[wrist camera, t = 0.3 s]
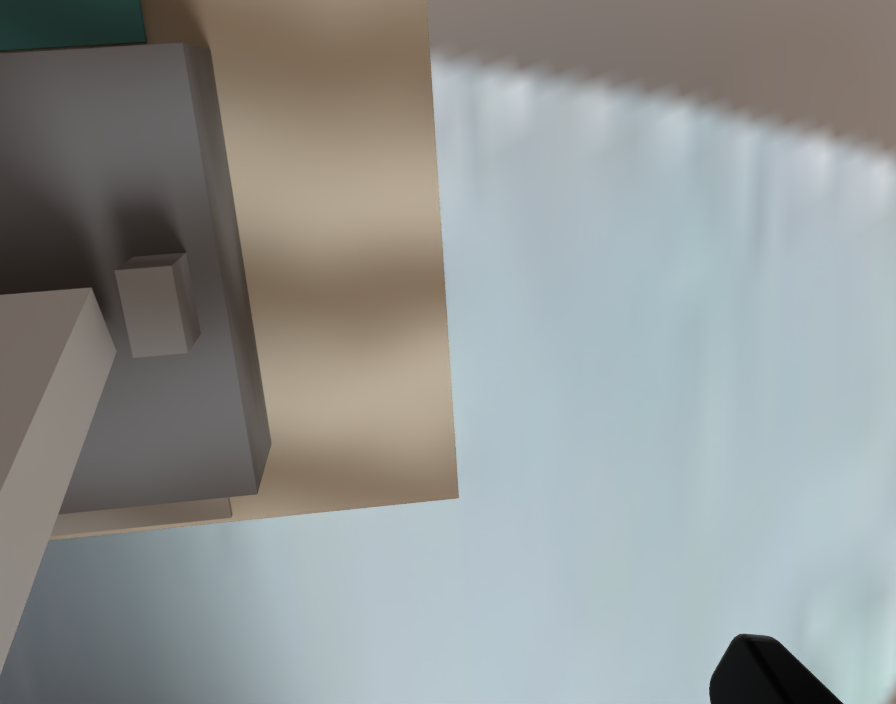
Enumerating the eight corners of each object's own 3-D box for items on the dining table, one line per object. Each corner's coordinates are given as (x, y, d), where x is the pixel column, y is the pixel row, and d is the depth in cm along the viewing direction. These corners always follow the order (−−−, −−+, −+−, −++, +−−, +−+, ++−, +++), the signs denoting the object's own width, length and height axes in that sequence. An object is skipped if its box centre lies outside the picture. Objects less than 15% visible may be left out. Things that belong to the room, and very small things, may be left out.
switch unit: (455, 482, 25) (476, 584, 20) (-186, 547, 23) (-340, 674, 18) (419, -67, 20) (435, -121, 14) (-414, -24, 18) (-720, -67, 13)
